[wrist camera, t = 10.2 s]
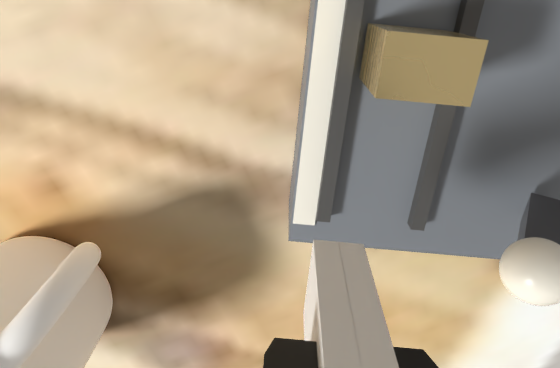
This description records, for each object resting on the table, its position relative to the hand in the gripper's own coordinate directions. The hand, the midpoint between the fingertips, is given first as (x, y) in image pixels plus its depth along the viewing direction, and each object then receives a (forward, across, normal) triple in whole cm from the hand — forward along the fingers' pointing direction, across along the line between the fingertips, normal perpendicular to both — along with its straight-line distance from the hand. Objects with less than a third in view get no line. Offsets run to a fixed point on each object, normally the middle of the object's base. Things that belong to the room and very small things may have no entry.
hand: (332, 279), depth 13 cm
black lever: (+6, +10, 0) cm, 12 cm away
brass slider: (+6, +2, +6) cm, 9 cm away
